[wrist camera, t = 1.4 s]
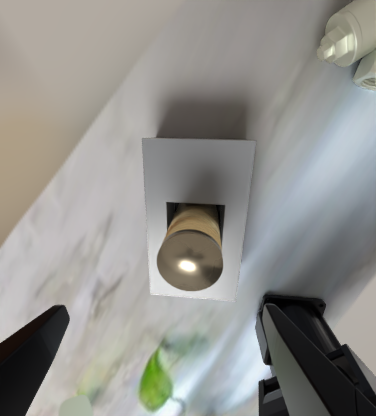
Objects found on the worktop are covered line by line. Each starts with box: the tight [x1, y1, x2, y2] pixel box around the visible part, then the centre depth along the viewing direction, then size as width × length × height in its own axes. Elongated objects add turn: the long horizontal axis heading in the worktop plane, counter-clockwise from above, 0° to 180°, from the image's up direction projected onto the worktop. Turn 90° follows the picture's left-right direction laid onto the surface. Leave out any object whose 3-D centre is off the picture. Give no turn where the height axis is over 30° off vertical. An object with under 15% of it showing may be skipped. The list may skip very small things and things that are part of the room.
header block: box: [142, 138, 256, 302], centre depth 18 cm, size 8×14×4 cm, turn 179°
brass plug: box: [157, 203, 223, 291], centre depth 16 cm, size 4×4×8 cm
